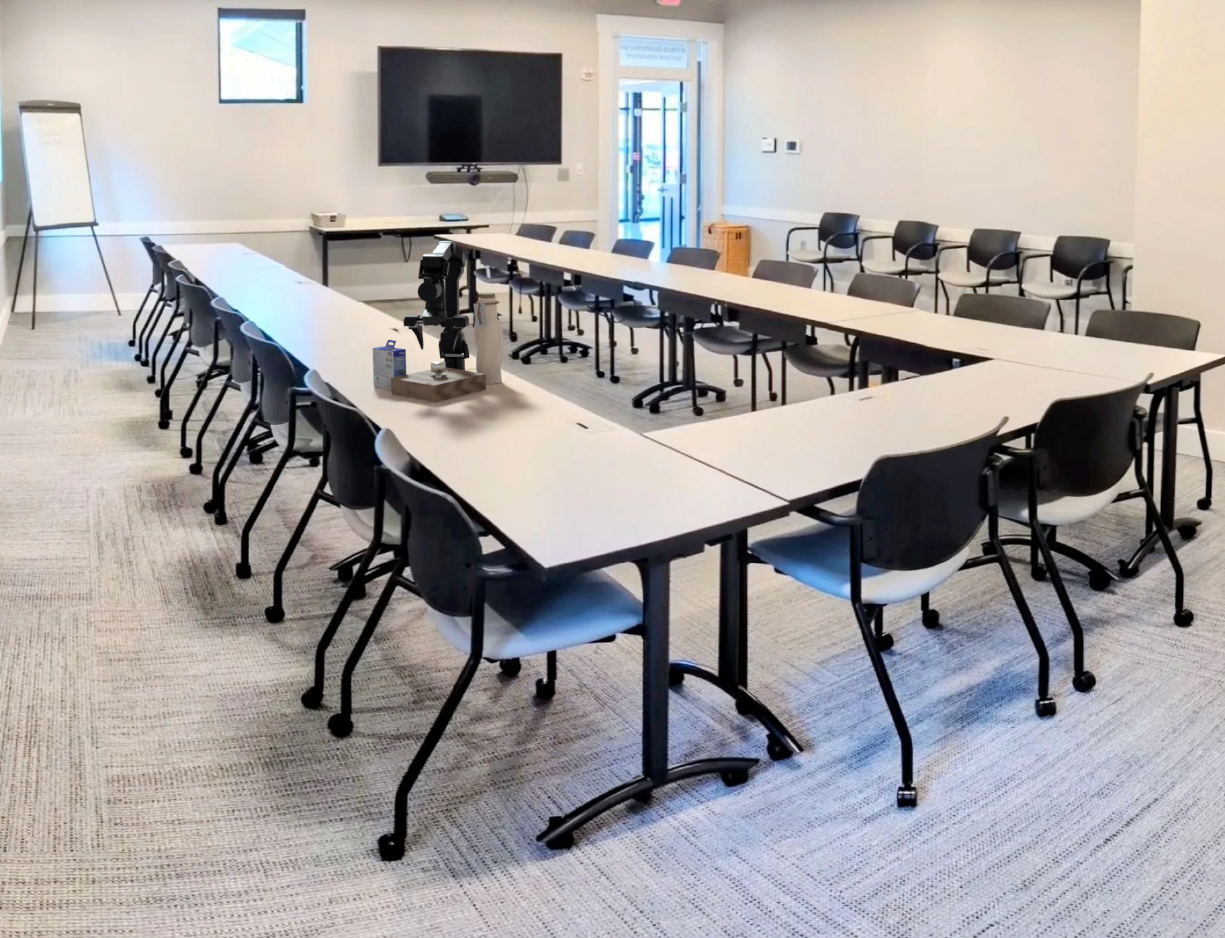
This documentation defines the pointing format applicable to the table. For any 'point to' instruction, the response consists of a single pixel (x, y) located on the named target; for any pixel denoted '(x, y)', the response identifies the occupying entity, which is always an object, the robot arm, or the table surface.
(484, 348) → the water bottle
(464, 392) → the press block
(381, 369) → the ink cartridge box
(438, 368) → the plunger
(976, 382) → the table surface
